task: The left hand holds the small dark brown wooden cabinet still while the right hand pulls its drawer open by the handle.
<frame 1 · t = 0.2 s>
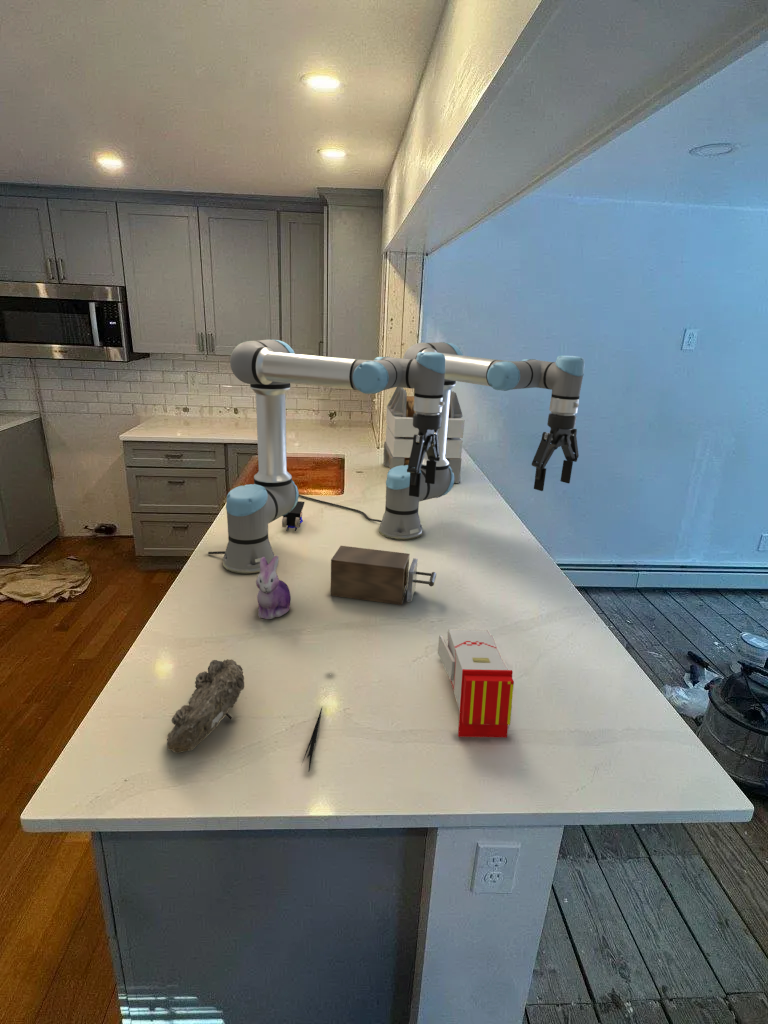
left hand: (422, 489, 157), 28 cm above the counter, tool pointing down, fingers open, 13 cm apart
right hand: (551, 486, 166), 28 cm above the counter, tool pointing down, fingers open, 13 cm apart
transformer: (419, 473, 275), on the counter
figurine: (273, 611, 146), on the counter
fossil: (212, 717, 108), on the counter
toy: (469, 691, 119), on the counter
feather: (319, 719, 109), on the counter
cabinet: (369, 591, 158), on the counter
figurine character: (293, 526, 202), on the counter
drawer: (390, 577, 156), point 5 cm above the counter, slide at 1.2 cm
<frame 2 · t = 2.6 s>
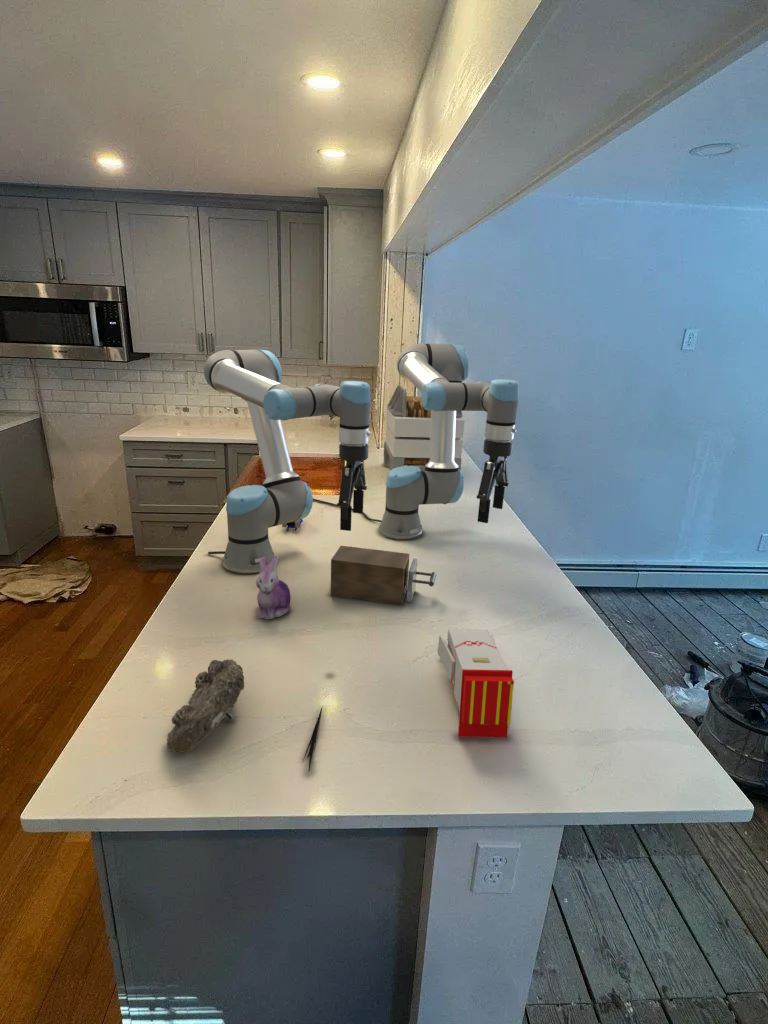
left hand: (352, 521, 152), 21 cm above the counter, tool pointing down, fingers open, 13 cm apart
right hand: (490, 514, 157), 22 cm above the counter, tool pointing down, fingers open, 13 cm apart
nothing on the counter moved.
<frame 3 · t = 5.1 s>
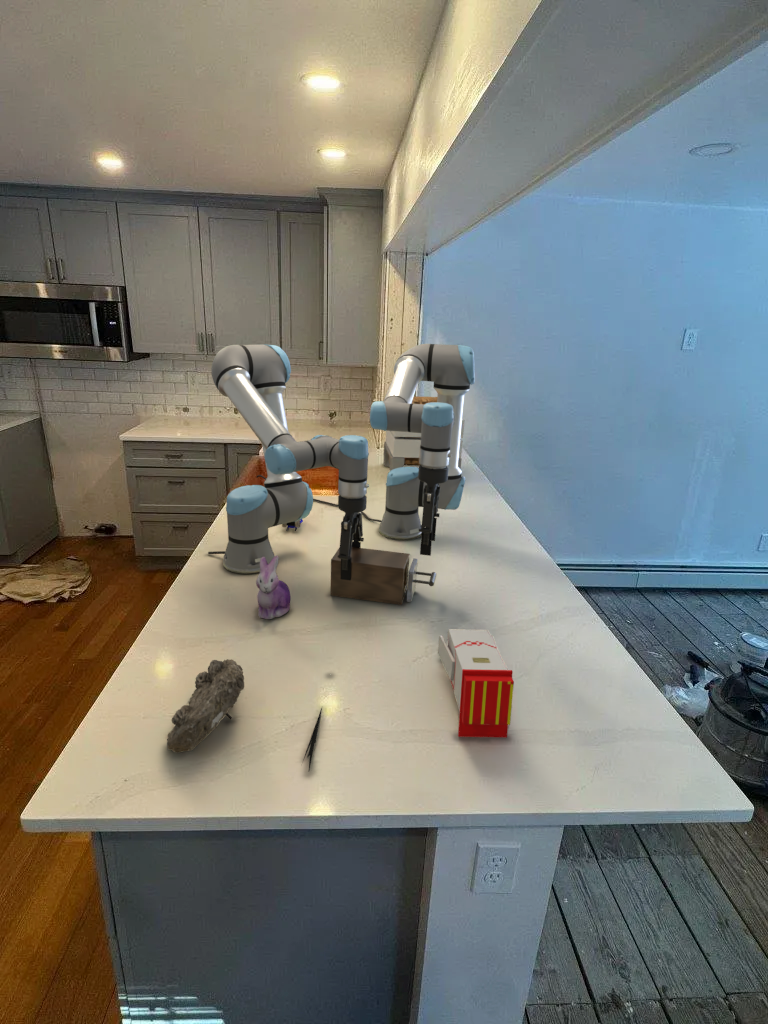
left hand: (350, 570, 157), 6 cm above the counter, tool pointing down, fingers closed on cabinet, 10 cm apart
right hand: (427, 547, 150), 16 cm above the counter, tool pointing down, fingers open, 9 cm apart
cabinet: (369, 591, 158), on the counter, touching left hand
everything else where it was.
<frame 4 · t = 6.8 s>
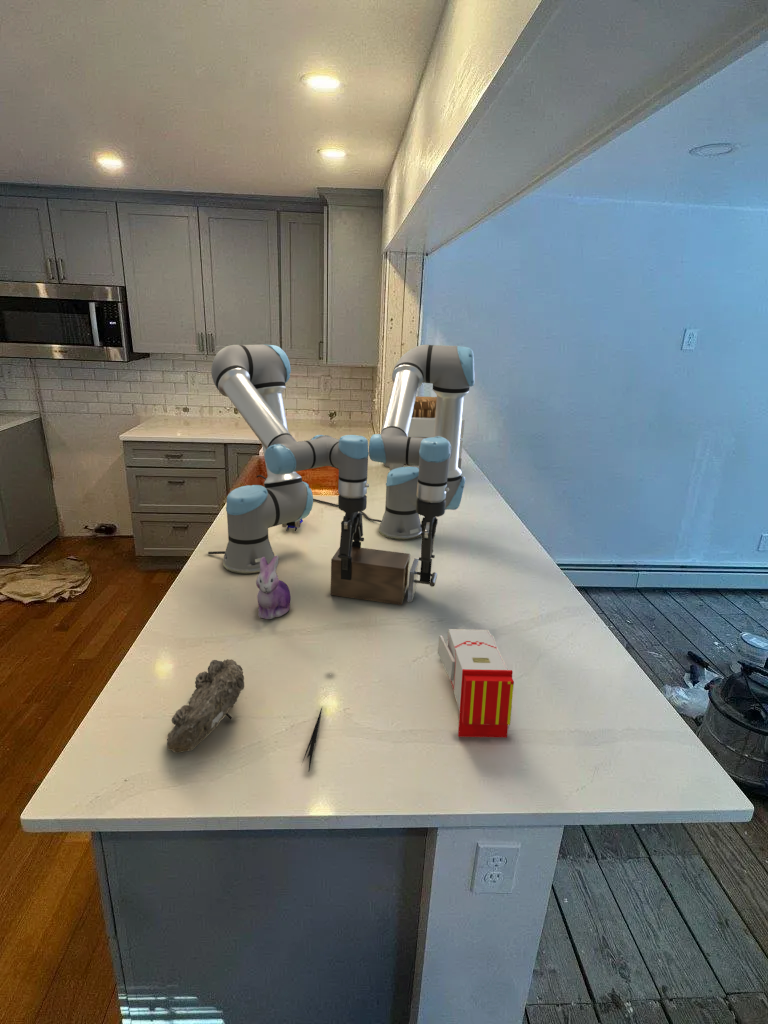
left hand: (350, 570, 157), 6 cm above the counter, tool pointing down, fingers closed on cabinet, 10 cm apart
right hand: (424, 581, 154), 6 cm above the counter, tool pointing down, fingers closed
cabinet: (369, 591, 158), on the counter, touching left hand
everything else where it was.
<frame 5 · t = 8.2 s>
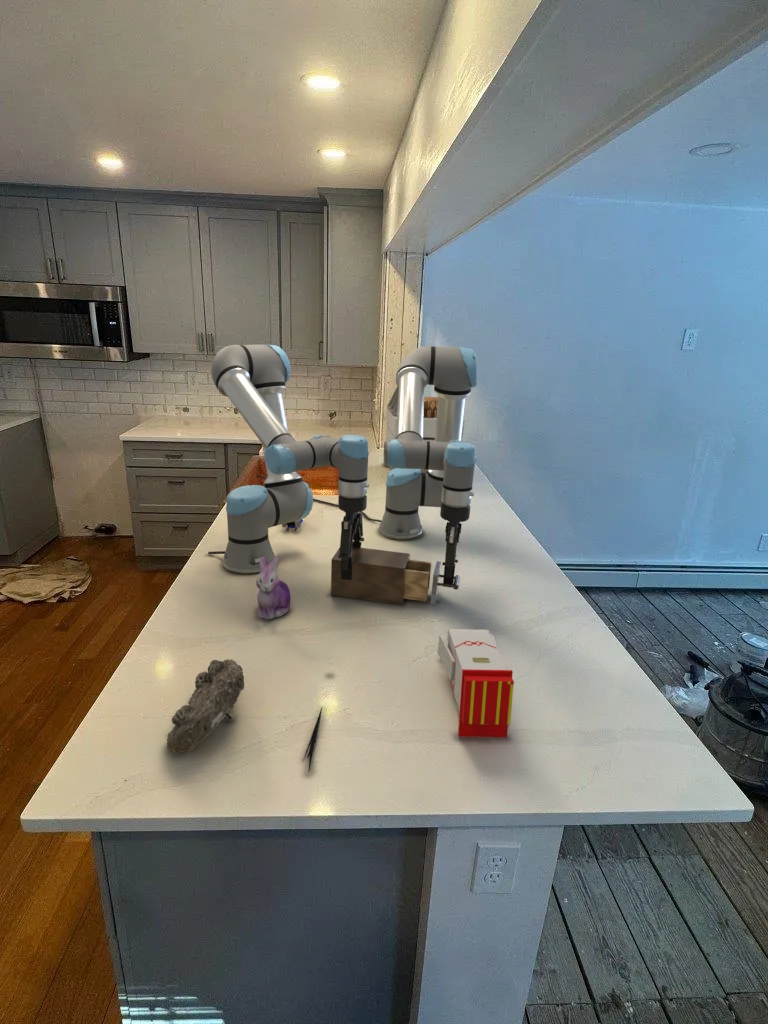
left hand: (351, 570, 157), 6 cm above the counter, tool pointing down, fingers closed on cabinet, 10 cm apart
right hand: (447, 585, 153), 5 cm above the counter, tool pointing down, fingers closed
cabinet: (369, 591, 158), on the counter, touching left hand
drawer: (414, 579, 154), point 5 cm above the counter, slide at 7.6 cm, touching right hand
everything else where it was.
when the left hand's fingers open (6 cm above the counter, at t = 10.1 s): cabinet stays where it is, on the counter.
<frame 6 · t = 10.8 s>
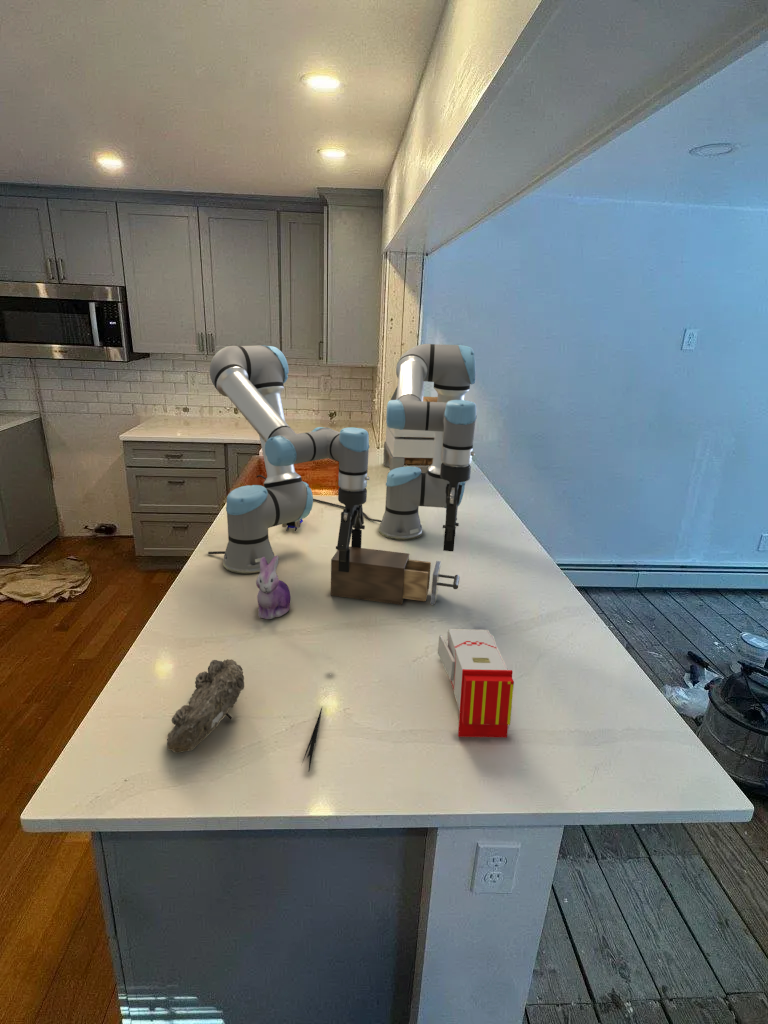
left hand: (350, 560, 156), 9 cm above the counter, tool pointing down, fingers open, 13 cm apart
right hand: (448, 550, 150), 15 cm above the counter, tool pointing down, fingers closed
cabinet: (369, 591, 158), on the counter
drawer: (414, 579, 155), point 5 cm above the counter, slide at 7.6 cm
everything else where it was.
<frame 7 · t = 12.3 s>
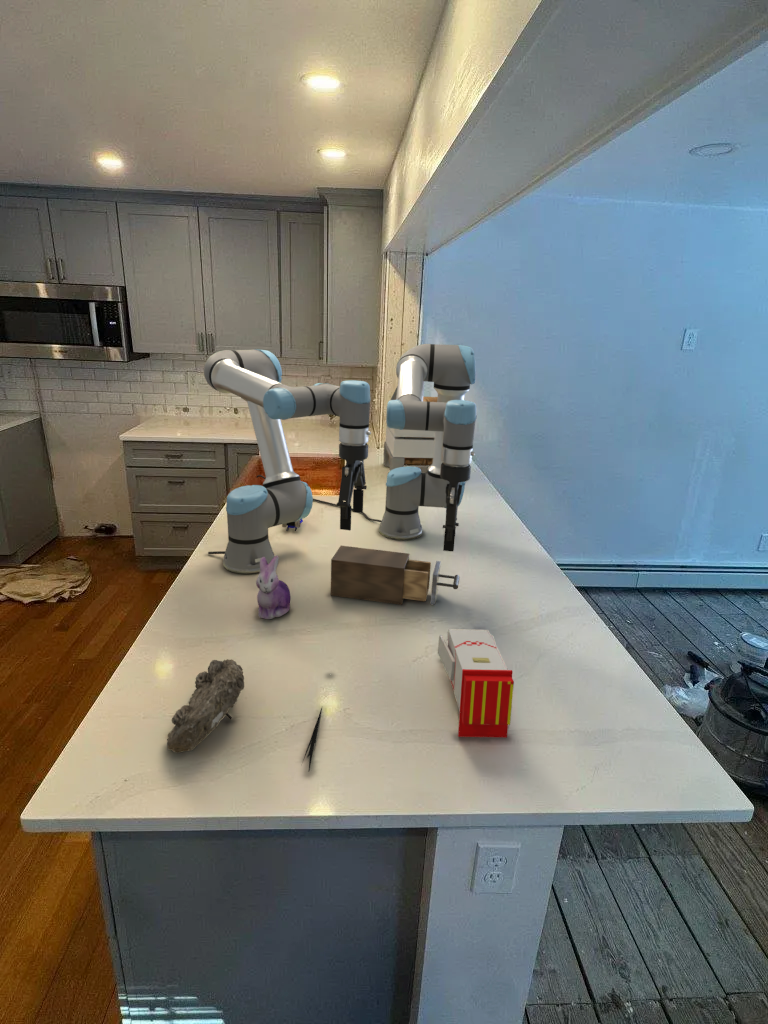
left hand: (351, 520, 152), 21 cm above the counter, tool pointing down, fingers open, 13 cm apart
right hand: (448, 550, 150), 15 cm above the counter, tool pointing down, fingers closed
nothing on the counter moved.
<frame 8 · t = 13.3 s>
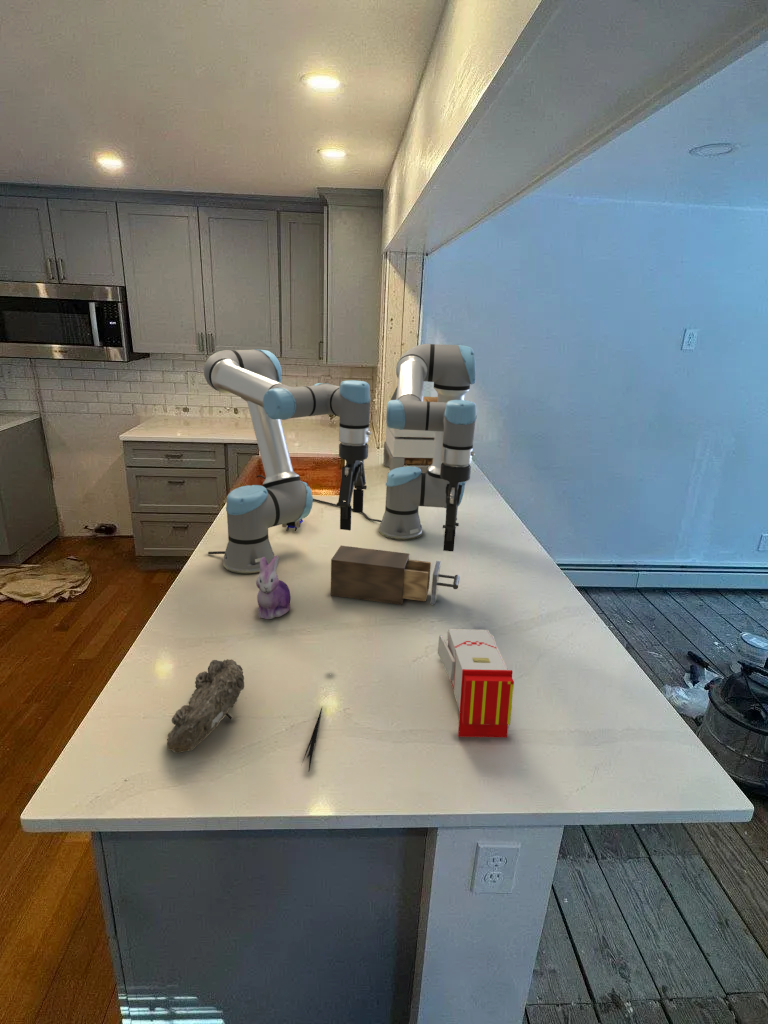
left hand: (351, 520, 152), 21 cm above the counter, tool pointing down, fingers open, 13 cm apart
right hand: (448, 550, 150), 15 cm above the counter, tool pointing down, fingers closed
nothing on the counter moved.
at the end: drawer slide at 7.6 cm; cabinet tilted 0°; cabinet never tilted more than 1° during the clip; cabinet moved 0.1 cm from its start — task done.
